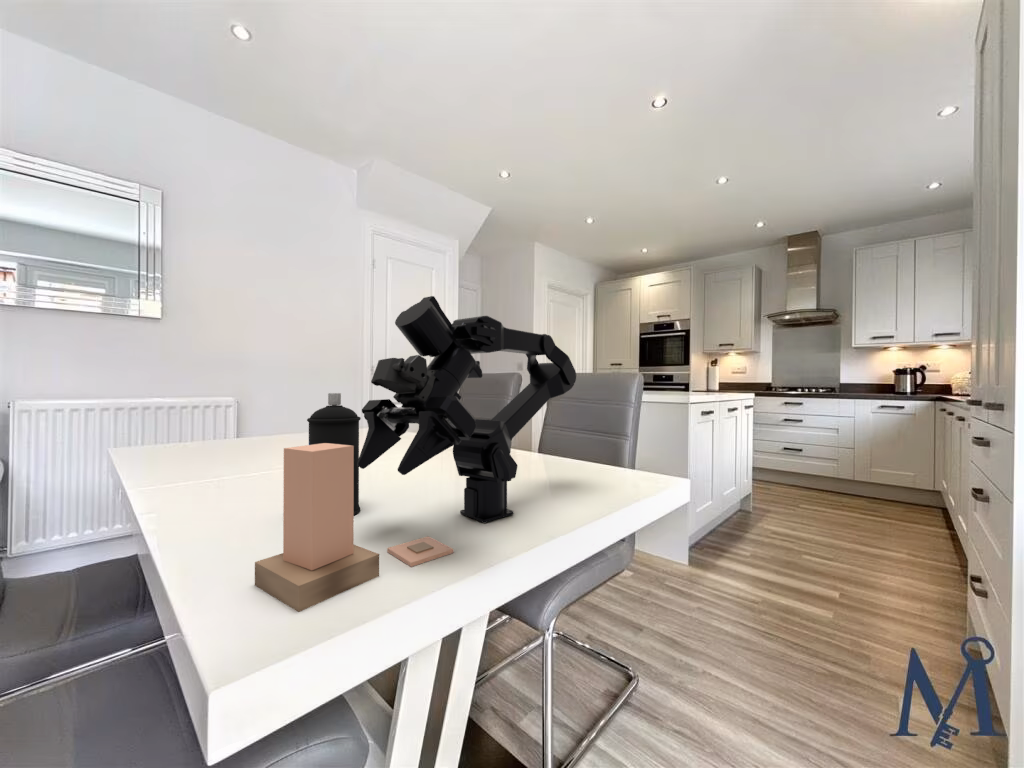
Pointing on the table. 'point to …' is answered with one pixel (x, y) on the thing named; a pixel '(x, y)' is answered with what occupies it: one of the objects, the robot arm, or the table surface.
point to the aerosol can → (337, 432)
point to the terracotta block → (318, 504)
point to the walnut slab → (314, 578)
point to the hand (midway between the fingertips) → (379, 469)
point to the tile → (419, 551)
